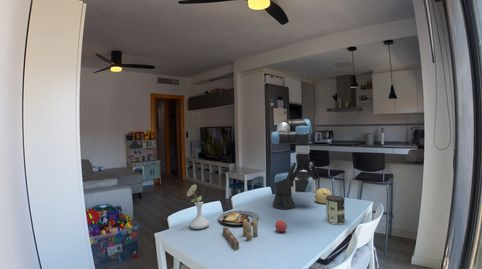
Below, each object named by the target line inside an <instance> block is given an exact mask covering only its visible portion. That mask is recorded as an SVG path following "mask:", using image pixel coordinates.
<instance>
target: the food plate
mask: <svg viewBox="0 0 482 269" xmlns="http://www.w3.org/2000/svg"><path fill="white" fill-rule="evenodd" d="M259 217H260V216H259V214H257V213H256V212H253V211H249V210H231V211H227V212H222V214H221V215H219V217H218V218H217V219H218V221H219V222H220V223H223V224H226V225H232V226H240V225H242V226H243V219H247V222H251V224H253V219H257V220H258V218H259ZM250 219H251V220H250Z"/></svg>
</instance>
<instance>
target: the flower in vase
mask: <svg viewBox="0 0 482 269" xmlns="http://www.w3.org/2000/svg"><path fill="white" fill-rule="evenodd" d="M196 190H197V184H192V185H191V186H190V188H189V189H188V191H187V192H186V197H190V196H192V195H194V197H195V198H193V199H191V201H190V204H192V203H194V205H195V207H196V216H195V217H194V218H193V219H192V220H191V221H190V223H189V227H190V228H191V229H196V230H201V229H205V228H207V227H208V226H210V224H211V223H210V221H209V220H208V219H206V218H205V217H204V216H203V215H202V206H203V204H204V202H203V201H201V200H202V198H203V196H202V195H199V196H198V197H197V196H196V193H195V191H196Z"/></svg>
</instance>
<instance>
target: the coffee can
mask: <svg viewBox="0 0 482 269" xmlns="http://www.w3.org/2000/svg"><path fill="white" fill-rule="evenodd" d="M345 199H346V198H345V197H344V196H341V195H336V194H335V195H333V194H332V195H331V196H326V204H325V205H326V209H325V211H326V212H325V214H326V220H325V221H326V222H327V223H329V224H332V225H343V224H345V223H346V221H345V220H346V218H345V215H346V214H345V212H346V211H345V209H346V208H345Z"/></svg>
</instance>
